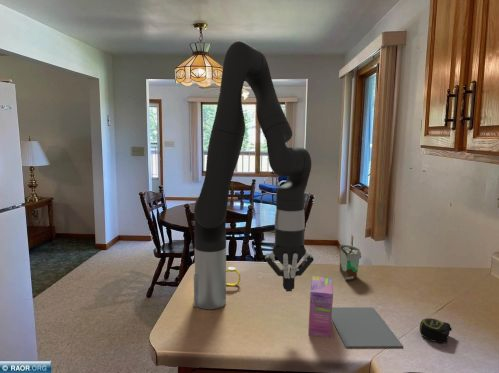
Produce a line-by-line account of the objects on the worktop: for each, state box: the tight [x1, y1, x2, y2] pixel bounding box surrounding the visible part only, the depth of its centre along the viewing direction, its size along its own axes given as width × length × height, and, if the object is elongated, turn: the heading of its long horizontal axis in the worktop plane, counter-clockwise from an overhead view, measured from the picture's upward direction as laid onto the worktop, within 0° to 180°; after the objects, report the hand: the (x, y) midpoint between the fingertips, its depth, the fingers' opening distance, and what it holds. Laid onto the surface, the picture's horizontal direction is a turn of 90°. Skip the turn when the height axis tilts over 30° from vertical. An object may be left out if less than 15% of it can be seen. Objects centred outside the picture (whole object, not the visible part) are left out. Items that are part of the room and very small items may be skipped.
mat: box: [331, 306, 404, 349], centre depth 100 cm, size 14×20×1 cm
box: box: [307, 275, 334, 339], centre depth 98 cm, size 10×6×12 cm, turn 168°
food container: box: [339, 244, 362, 282], centre depth 134 cm, size 12×6×10 cm, turn 179°
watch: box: [226, 266, 241, 287], centre depth 125 cm, size 6×3×6 cm, turn 91°
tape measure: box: [419, 317, 453, 344], centre depth 95 cm, size 7×7×4 cm
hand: (288, 290), depth 98 cm, fingers closed
